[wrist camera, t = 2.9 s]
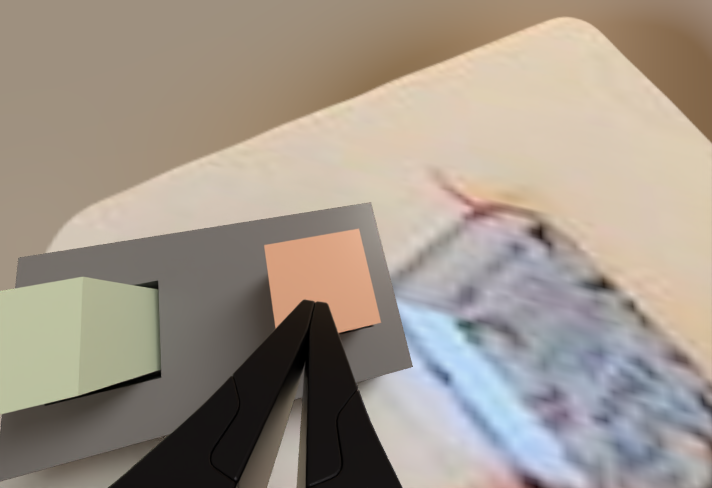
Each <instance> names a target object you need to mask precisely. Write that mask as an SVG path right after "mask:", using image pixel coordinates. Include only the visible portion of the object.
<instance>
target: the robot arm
mask: <svg viewBox="0 0 712 488" xmlns="http://www.w3.org/2000/svg"><path fill="white" fill-rule="evenodd" d="M304 365H305V369H304ZM303 369H304V381H303V396H302V412H301V427H300V443H299V458H298V474H297V488H402V486H401V484H400V481H399V479H398V477H397V475H396V473H395V471H394V469H393V467H392V465H391V463H390V461H389V459H388V457H387V455H386V453H385V451H384V449H383V447H382V445H381V443H380V441H379V438H378V436H377V434H376V432H375V430H374V428H373V425H372V423H371V421H370V418H369V416H368V413H367V411H366V408H365V405H364V403H363V400H362V397H361V394H360V392H359V390H358V386H357V384H356V381H355V378H354V375H353V372H352V370H351V367H350V364H349V361H348V358H347V355H346V353H345V350H344V347H343V344H342V341H341V339H340V336H339V333H338V330H337V327H336V325H335V322H334V319H333V316H332V313H331V310H330V308H329V305H328V303H326V302H320V301H317V302H315V301H313V300H306V299H304V300H302V301H301V302H300V303H299V304H298V305H297V306H296V307H295V308H294V310H293V311H292V312H291V313H290V314H289V315H288V316H287V317H286V318H285V319H284V320H283V321H282V322H281V323H280V324H279V325H278V326H277V328H276V329H275V330H274V331H273V332H272V333H271V334H270V335H269V336H268V337H267V338H266V339H265V340H264V341H263V342H262V343H261V344H260V346H259V347H258V348H257V349H256V350H255V351H254V352H253V353H252V354H251V355H250V356H249V357H248V358H247V359H246V360H245V361H244V362H243V364H242V365H241V366H240V367H239V368H238V369H237V370H236V371H235V372H234V373H233V376H230V377H229V378H228V379H227V380H226V381H225V382H224V383H223V385H222V386H221V387H220V388H219V389H218V390H217V391H216V392H215V393H214V394H213V395H212V396H211V397H210V398H209V399H208V400H207V401H206V402H205V403H204V404H203V405H202V406H201V407H199V408H198V409H197V410H196V411H195V412H194V413H193V414H192V415H191V416H190V417H189V418H187V419H186V420H185V421H184V422H183V423H182V424H181V425H180V426H179V427H177V428H176V429H175V430H174V431H173V432H172V433H171V434H169V435H168V436H167V437H166V438H165V439H164V440H163V441H162V442H160V443H159V444H158V445H157V446H156V447H155V448H154V449H152V450H151V451H150V452H149V453H148V454H147V455H146V456H144V457H143V458H142V459H141V460H140V461H139V462H138V463H137V464H135V465H134V466H133V467H132V468H131V469H130V470H129V471H127V472H126V473H125V474H124V475H123V476H122V477H120V478H119V479H118V480H117V481H116V482H115V483H113V484H112V485H111V486H109V487H108V488H267V485H268V482H269V479H270V476H271V473H272V469H273V466H274V463H275V460H276V457H277V453H278V450H279V447H280V444H281V441H282V437H283V434H284V431H285V428H286V425H287V421H288V418H289V415H290V412H291V408H292V405H293V402H294V399H295V396H296V392H297V389H298V386H299V383H300V380H301V376H302V373H303Z"/></svg>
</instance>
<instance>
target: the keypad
mask: <svg viewBox="0 0 712 488" xmlns="http://www.w3.org/2000/svg"><path fill="white" fill-rule="evenodd" d="M354 229H359V231H360V235H361V239H362V244H363V248H364V252H365V256H366V261H367V265H368V269H369V273H370V278H371V282H372V286H373V290H374V294H375V299H376V303H377V307H378V311H379V316H380V320H381V323H378V324H373V325H369V326H365V327H361V328H357V329H353V330H348V331H344V332H340V333H339V336H340V339H341V341H342V344H343V347H344V350H345V353H346V355H347V358H348V361H349V364H350V367H351V370H352V372H353V375H354V378H355V381H356V383H357V382H360V381H364V380H367V379H371V378H375V377H378V376H382V375H385V374H389V373H393V372H396V371H400V370H403V369H407V368H411V367H413V365H412V362H411V358H410V354H409V350H408V346H407V342H406V338H405V334H404V330H403V326H402V322H401V318H400V314H399V310H398V307H397V303H396V299H395V295H394V291H393V287H392V283H391V279H390V275H389V271H388V267H387V263H386V259H385V255H384V252H383V248H382V244H381V240H380V236H379V232H378V228H377V224H376V220H375V216H374V212H373V208H372V204H371V202H369V203H363V204H357V205H350V206H344V207H338V208H331V209H325V210H319V211H312V212H306V213H300V214H293V215H287V216H281V217H274V218H268V219H261V220H255V221H249V222H242V223H236V224H230V225H223V226H217V227H211V228H204V229H198V230H192V231H185V232H179V233H173V234H166V235H160V236H154V237H147V238H141V239H134V240H128V241H122V242H115V243H109V244H103V245H96V246H90V247H84V248H77V249H71V250H65V251H58V252H52V253H46V254H40V255H33V256H27V257H20V258H18V267H17V276H16V286H15V288H21V287H27V286H32V285H38V284H44V283H50V282H55V281H61V280H67V279H73V278H78V277H88V278H93V279H99V280H105V281H111V282H117V283H123V284H128V285H134V286H140V287H146V288H152V289H158V290H159V316H160V348H161V370H158V371H155V372H152V373H148V374H145V375H142V376H139V377H136V378H133V379H129V380H126V381H123V382H120V383H117V384H114V385H110V386H107V387H104V388H101V389H98V390H95V391H91V392H88V393H85V394H82V395H79V396H75V397H71V398H67V399H62V400H58V401H54V402H50V403H46V404H42V405H38V406H33V407H29V408H25V409H21V410H17V411H13V412H8V413H4V414H2V420H1V430H0V481H3V480H7V479H11V478H14V477H18V476H21V475H25V474H29V473H32V472H36V471H39V470H43V469H47V468H50V467H54V466H57V465H61V464H65V463H68V462H72V461H76V460H79V459H83V458H86V457H90V456H94V455H97V454H101V453H104V452H108V451H112V450H115V449H119V448H122V447H126V446H130V445H133V444H137V443H140V442H144V441H148V440H151V439H155V438H158V437H162V436H166V435H169V434H171V433H172V432H173V431H174V430H175V429H176V428H177V427H179V426H180V425H181V424H182V423H183V422H184V421H185V420H186V419H187V418H189V417H190V416H191V415H192V414H193V413H194V412H195V411H196V410H197V409H198V408H199V407H201V406H202V405H203V404H204V403H205V402H206V401H207V400H208V399H209V398H210V397H211V396H212V395H213V394H214V393H215V392H216V391H217V390H218V389H219V388H220V387H221V386H222V385H223V383H224V382H225V381H226V380H227V379H228V378H229V377H230V376H233V373H234V372H235V371H236V370H237V369H238V368H239V367H240V366H241V365H242V364H243V362H244V361H245V360H246V359H247V358H248V357H249V356H250V355H251V354H252V353H253V352H254V351H255V350H256V349H257V348H258V347H259V346H260V344H261V343H262V342H263V341H264V340H265V339H266V338H267V337H268V336H269V335H270V334H271V333H272V332H273V331H274V330H275V329H276V328H275V321H274V314H273V306H272V299H271V292H270V285H269V277H268V270H267V263H266V256H265V248H264V245H268V244H274V243H279V242H285V241H291V240H297V239H302V238H308V237H314V236H320V235H325V234H331V233H337V232H343V231H348V230H354ZM304 369H305V365H304ZM304 369H303V373H302V376H301V380H300V383H299V386H298V389H297V392H296V396H295V399H299V398H302V396H303V381H304ZM295 399H294V400H295Z"/></svg>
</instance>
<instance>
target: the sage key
mask: <svg viewBox="0 0 712 488" xmlns="http://www.w3.org/2000/svg"><path fill="white" fill-rule="evenodd" d="M158 370H161V348H160V316H159V290H158V289H152V288H146V287H140V286H134V285H128V284H123V283H117V282H111V281H105V280H99V279H93V278H88V277H78V278H73V279H67V280H61V281H55V282H50V283H44V284H38V285H32V286H27V287H21V288H15V289H9V290H4V291H0V414H4V413H8V412H13V411H17V410H21V409H25V408H29V407H33V406H38V405H42V404H46V403H50V402H54V401H58V400H62V399H67V398H71V397H75V396H79V395H82V394H85V393H88V392H91V391H95V390H98V389H101V388H104V387H107V386H110V385H114V384H117V383H120V382H123V381H126V380H129V379H133V378H136V377H139V376H142V375H145V374H148V373H152V372H155V371H158Z"/></svg>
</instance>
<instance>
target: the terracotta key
mask: <svg viewBox="0 0 712 488" xmlns="http://www.w3.org/2000/svg"><path fill="white" fill-rule="evenodd" d="M264 248H265V256H266V263H267V270H268V277H269V285H270V292H271V299H272V306H273V314H274V321H275V328H277V326H278V325H279V324H280V323H281V322H282V321H283V320H284V319H285V318H286V317H287V316H288V315H289V314H290V313H291V312H292V311H293V310H294V308H295V307H296V306H297V305H298V304H299V303H300V302H301V301H302V300H304V299H306V300H313V301H315V302H317V301H320V302H326V303H328V305H329V308H330V310H331V313H332V316H333V319H334V322H335V325H336V327H337V330H338V333H340V332H344V331H348V330H353V329H357V328H361V327H365V326H369V325H373V324H378V323H381V320H380V316H379V311H378V307H377V303H376V299H375V294H374V290H373V286H372V282H371V278H370V273H369V269H368V265H367V261H366V256H365V252H364V248H363V244H362V239H361V235H360V231H359V229H354V230H348V231H343V232H337V233H331V234H325V235H320V236H314V237H308V238H302V239H297V240H291V241H285V242H279V243H274V244H268V245H264Z"/></svg>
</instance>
